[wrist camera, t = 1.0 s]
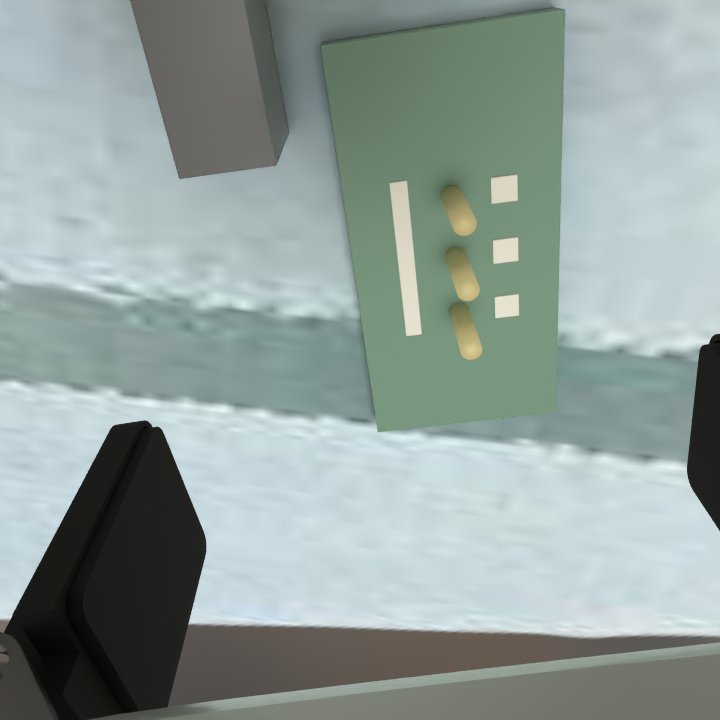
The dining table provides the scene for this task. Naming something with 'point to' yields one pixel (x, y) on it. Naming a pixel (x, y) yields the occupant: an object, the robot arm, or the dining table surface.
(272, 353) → the dining table surface
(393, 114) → the header board
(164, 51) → the block
